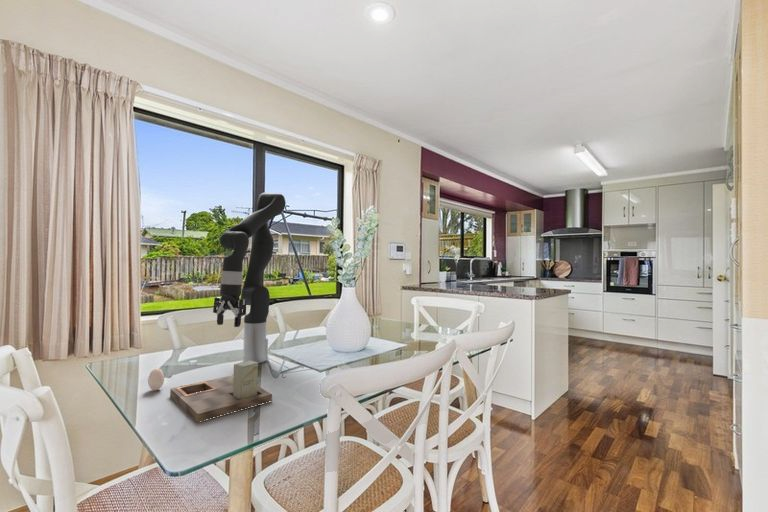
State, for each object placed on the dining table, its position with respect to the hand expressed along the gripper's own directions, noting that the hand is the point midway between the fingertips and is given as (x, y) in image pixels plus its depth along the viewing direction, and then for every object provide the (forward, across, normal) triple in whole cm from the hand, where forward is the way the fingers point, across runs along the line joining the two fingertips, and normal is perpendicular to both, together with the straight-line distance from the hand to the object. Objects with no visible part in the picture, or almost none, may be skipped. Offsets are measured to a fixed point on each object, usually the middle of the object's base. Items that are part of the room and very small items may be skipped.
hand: (228, 325), depth 140 cm
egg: (+21, +10, +20) cm, 30 cm away
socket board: (+20, -16, +17) cm, 30 cm away
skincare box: (+20, -24, +15) cm, 35 cm away
